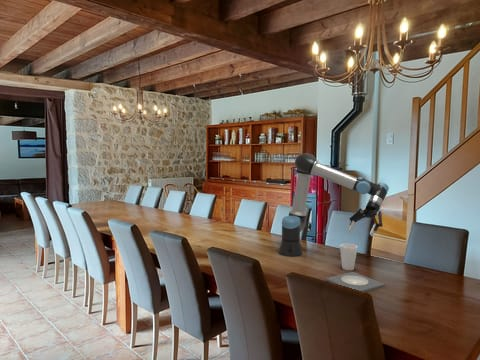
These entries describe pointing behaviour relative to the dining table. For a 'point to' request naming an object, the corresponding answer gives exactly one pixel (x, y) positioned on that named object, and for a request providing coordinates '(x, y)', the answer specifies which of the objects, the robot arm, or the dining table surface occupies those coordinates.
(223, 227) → the dining table surface
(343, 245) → the foam cup
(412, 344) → the dining table surface
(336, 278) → the grey square plate
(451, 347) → the dining table surface
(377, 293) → the dining table surface
